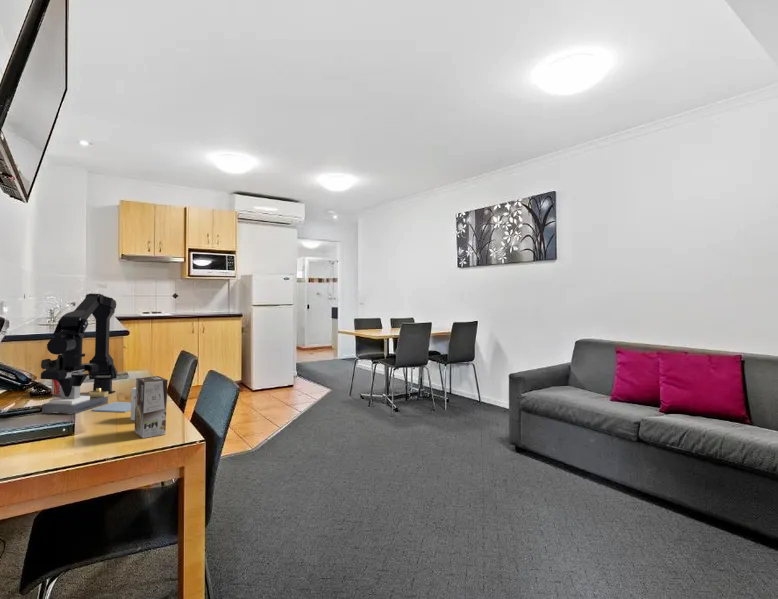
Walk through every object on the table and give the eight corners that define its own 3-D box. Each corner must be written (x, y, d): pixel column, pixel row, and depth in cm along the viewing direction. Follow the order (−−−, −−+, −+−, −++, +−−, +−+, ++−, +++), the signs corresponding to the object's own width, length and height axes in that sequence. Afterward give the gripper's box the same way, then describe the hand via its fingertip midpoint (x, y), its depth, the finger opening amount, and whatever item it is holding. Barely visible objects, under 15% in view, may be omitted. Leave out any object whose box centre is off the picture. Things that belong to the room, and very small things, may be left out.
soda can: (61, 392, 172) (62, 363, 172) (77, 392, 172) (78, 363, 172) (46, 395, 165) (47, 365, 165) (63, 396, 165) (64, 366, 165)
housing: (79, 402, 157) (80, 394, 157) (107, 403, 156) (108, 395, 156) (42, 413, 141) (42, 404, 141) (73, 414, 140) (73, 405, 140)
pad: (115, 403, 157) (116, 401, 157) (146, 404, 156) (146, 403, 156) (91, 411, 145) (91, 409, 145) (124, 412, 144) (124, 411, 144)
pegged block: (92, 395, 155) (93, 387, 155) (108, 396, 155) (108, 388, 155) (88, 396, 153) (88, 388, 153) (104, 397, 153) (104, 389, 153)
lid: (68, 398, 150) (69, 384, 150) (89, 399, 149) (90, 384, 149) (49, 403, 142) (49, 388, 142) (71, 404, 141) (72, 389, 141)
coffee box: (166, 434, 122) (168, 379, 123) (141, 439, 118) (143, 382, 118) (157, 427, 129) (159, 375, 129) (133, 431, 124) (135, 377, 125)
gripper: (71, 347, 156) (70, 389, 155) (25, 353, 137) (23, 400, 137) (100, 348, 155) (98, 390, 155) (58, 354, 136) (56, 402, 136)
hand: (70, 395), depth 146 cm, fingers closed on lid, 2 cm apart
